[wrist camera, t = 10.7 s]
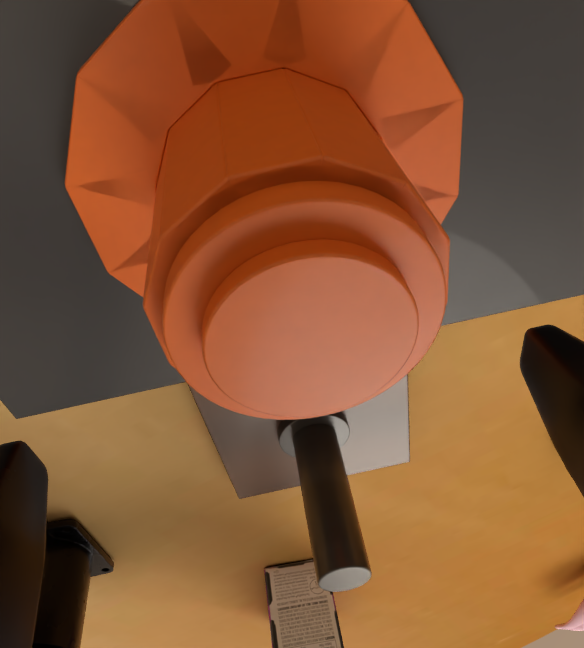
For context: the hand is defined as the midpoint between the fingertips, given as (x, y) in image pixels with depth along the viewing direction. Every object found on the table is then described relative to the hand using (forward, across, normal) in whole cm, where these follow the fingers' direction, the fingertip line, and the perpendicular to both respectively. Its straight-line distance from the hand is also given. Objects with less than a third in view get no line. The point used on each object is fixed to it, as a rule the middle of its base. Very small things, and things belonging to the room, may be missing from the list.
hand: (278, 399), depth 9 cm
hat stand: (+11, 0, +14) cm, 18 cm away
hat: (+7, -1, 0) cm, 7 cm away
